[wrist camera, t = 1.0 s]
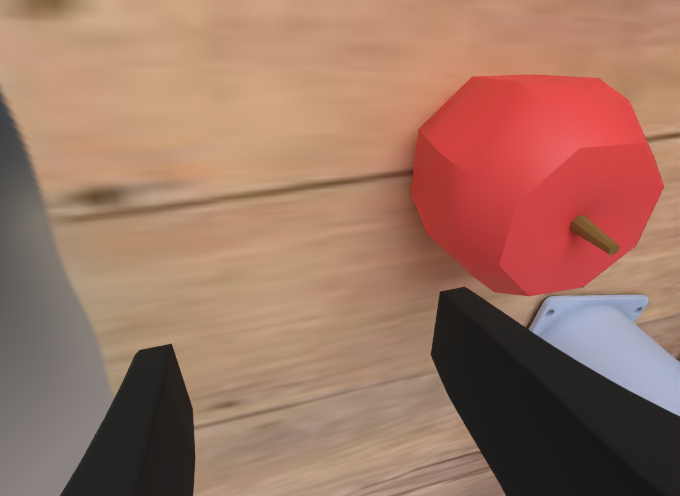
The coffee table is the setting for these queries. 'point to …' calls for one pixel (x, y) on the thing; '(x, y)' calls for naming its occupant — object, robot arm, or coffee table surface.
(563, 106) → the apple
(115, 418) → the robot arm
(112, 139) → the coffee table surface
